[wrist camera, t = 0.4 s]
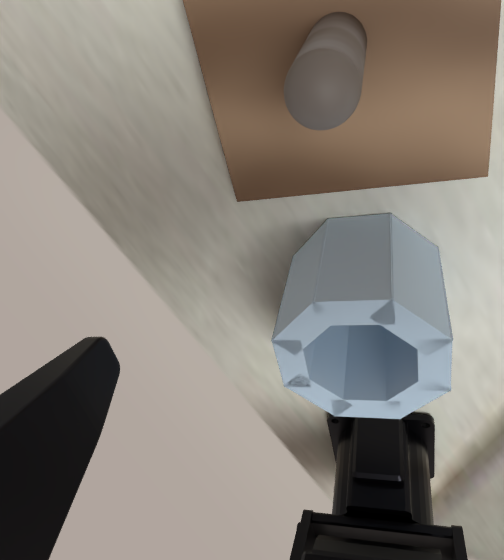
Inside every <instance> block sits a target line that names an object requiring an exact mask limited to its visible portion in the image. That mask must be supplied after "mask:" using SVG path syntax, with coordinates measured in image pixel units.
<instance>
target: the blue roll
mask: <svg viewBox="0 0 504 560" xmlns="http://www.w3.org/2000/svg"><path fill="white" fill-rule="evenodd" d="M271 341H272V343H273V347H274V351H275V354H276V358H277V362H278V365H279V369H280V372H281V376H282V380H283V383H284V387H286V388H288V389H290V390H291V391H293V392H295V393H297V394H298V395H300V396H302V397H303V398H305V399H307V400H308V401H310V402H312V403H313V404H315V405H317V406H318V407H320V408H322V409H324V410H325V411H327V412H329V413H330V414H332V415H334V416H335V417H336V416H341V417H364V418H387V419H401V418H403V417H405V416H406V415H408V414H410V413H412V412H413V411H415V410H417V409H419V408H420V407H422V406H424V405H426V404H428V403H429V402H431V401H433V400H435V399H436V398H438V397H440V396H442V395H443V394H445V393H447V392H449V391H451V364H452V341H453V336H452V329H451V323H450V317H449V310H448V304H447V298H446V291H445V285H444V278H443V272H442V266H441V259H440V253H439V248H438V246H436V245H434V244H433V243H431V242H430V241H429V240H427V239H426V238H424V237H423V236H422V235H420V234H419V233H418V232H416V231H415V230H413V229H412V228H411V227H409V226H408V225H406V224H405V223H404V222H402V221H401V220H399V219H398V218H397V217H395V216H394V215H392V213H388V214H377V215H365V216H353V217H341V218H328V219H327V220H326V221H325V222H324V223H323V224H322V226H321V227H320V228H319V229H318V230H317V231H316V232H315V233H314V234H313V235H312V236H311V237H310V239H309V240H308V241H307V242H306V243H305V244H304V245H303V246H302V247H301V248H300V249H299V250H298V252H297V253H296V254H295V255H293V258H292V262H291V266H290V270H289V274H288V278H287V282H286V286H285V289H284V293H283V297H282V301H281V305H280V309H279V313H278V317H277V321H276V325H275V328H274V332H273V336H272V340H271Z"/></svg>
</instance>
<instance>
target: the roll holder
mask: <svg viewBox="0 0 504 560" xmlns="http://www.w3.org/2000/svg"><path fill="white" fill-rule="evenodd" d="M183 3H184V7H185V10H186V14H187V18H188V21H189V25H190V29H191V33H192V36H193V40H194V44H195V47H196V51H197V55H198V58H199V62H200V66H201V70H202V73H203V77H204V81H205V84H206V88H207V92H208V96H209V99H210V103H211V107H212V110H213V114H214V118H215V122H216V125H217V129H218V133H219V136H220V140H221V144H222V148H223V151H224V155H225V159H226V162H227V166H228V170H229V174H230V177H231V181H232V185H233V188H234V192H235V196H236V199H237V202H240V201H250V200H260V199H270V198H280V197H290V196H300V195H310V194H320V193H329V192H339V191H349V190H359V189H369V188H379V187H389V186H399V185H409V184H419V183H429V182H439V181H449V180H459V179H469V178H478V177H488V169H489V156H490V143H491V129H492V116H493V103H494V90H495V76H496V63H497V50H498V36H499V23H500V10H501V0H183Z"/></svg>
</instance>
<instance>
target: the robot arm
mask: <svg viewBox="0 0 504 560" xmlns="http://www.w3.org/2000/svg"><path fill="white" fill-rule="evenodd" d="M119 373H120V365H119V362H118V360H117V358H116V356H115V354H114V352H113V350H112V348H111V346H110V344H109V342H108V341H107V340H106V339H105V338H103V337H87V338H85V339H83V340H82V341H80V342H78V343H77V344H75V345H74V346H73V347H71V348H70V349H68V350H66V351H65V352H63V353H62V354H60V355H59V356H57V357H56V358H54V359H53V360H51V361H50V362H49V363H47V364H45V365H44V366H43V367H41V368H39V369H38V370H36V371H35V372H34V373H32V374H31V375H29V376H28V377H26V378H24V379H23V380H21V381H20V382H19V383H17V384H16V385H14V386H13V387H11V388H10V389H8V390H7V391H5V392H4V393H2V394H1V395H0V560H49V557H50V555H51V552H52V550H53V547H54V545H55V543H56V540H57V538H58V536H59V533H60V531H61V528H62V526H63V524H64V521H65V519H66V517H67V514H68V512H69V509H70V507H71V505H72V502H73V500H74V498H75V495H76V493H77V490H78V488H79V485H80V483H81V481H82V478H83V476H84V474H85V471H86V469H87V466H88V464H89V462H90V459H91V457H92V454H93V452H94V450H95V447H96V445H97V442H98V440H99V437H100V435H101V432H102V429H103V426H104V423H105V419H106V416H107V413H108V409H109V406H110V403H111V400H112V396H113V393H114V390H115V387H116V384H117V380H118V377H119ZM327 421H328V426H329V431H330V436H331V441H332V445H333V450H334V455H335V460H336V474H335V486H334V498H333V509H332V514H325V513H315V512H313V510H303V514H302V519H301V522H299V523H298V525H297V531H296V535H295V539H294V543H293V548H292V552H291V556H290V560H468V559H467V553H466V547H465V541H464V535H463V529H462V526H454V525H451V527H447V526H437V525H434V524H433V511H432V498H431V486H430V479H431V478H433V477H434V443H435V425H434V419H433V417H431V416H429V415H418V414H408V415H406V416H405V417H403V418H401V419H387V418H364V417H341V416H336V417H335V416H334V415H332V414H330V413H328V420H327Z"/></svg>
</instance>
